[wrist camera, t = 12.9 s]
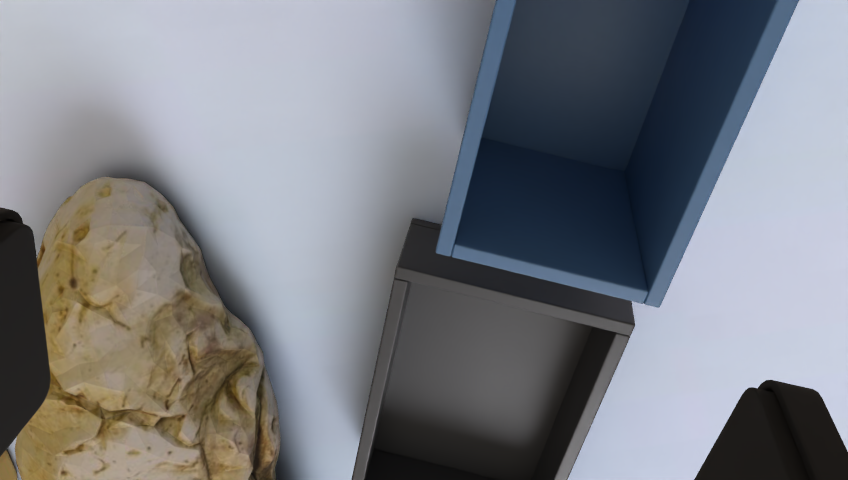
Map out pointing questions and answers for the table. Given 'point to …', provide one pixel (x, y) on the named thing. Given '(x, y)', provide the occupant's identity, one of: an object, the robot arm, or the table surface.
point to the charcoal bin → (485, 371)
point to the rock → (142, 352)
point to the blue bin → (603, 135)
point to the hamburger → (7, 468)
